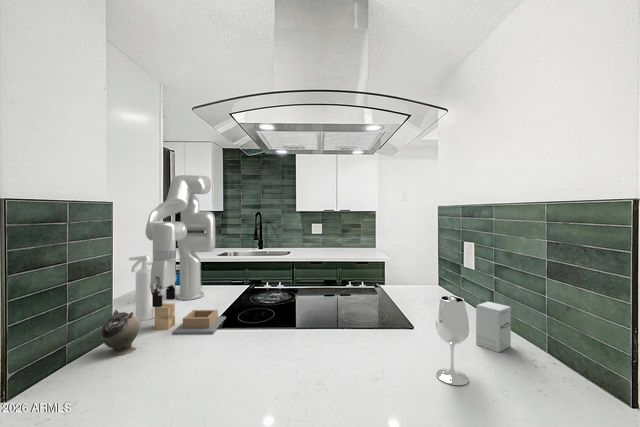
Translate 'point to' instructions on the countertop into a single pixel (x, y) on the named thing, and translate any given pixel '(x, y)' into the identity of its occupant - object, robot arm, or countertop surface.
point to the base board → (200, 322)
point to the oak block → (164, 316)
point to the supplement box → (493, 326)
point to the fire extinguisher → (143, 288)
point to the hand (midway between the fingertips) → (164, 302)
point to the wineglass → (452, 334)
